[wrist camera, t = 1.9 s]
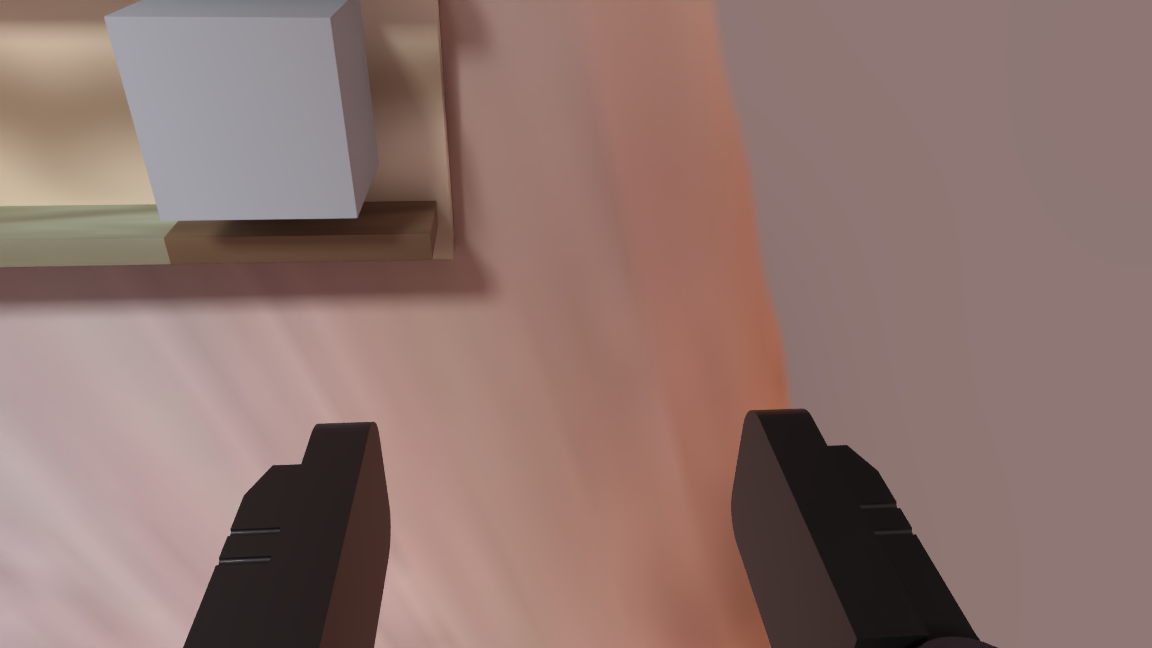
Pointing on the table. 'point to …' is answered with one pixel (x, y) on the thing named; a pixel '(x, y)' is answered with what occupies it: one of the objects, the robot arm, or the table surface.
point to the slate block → (249, 106)
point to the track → (118, 173)
